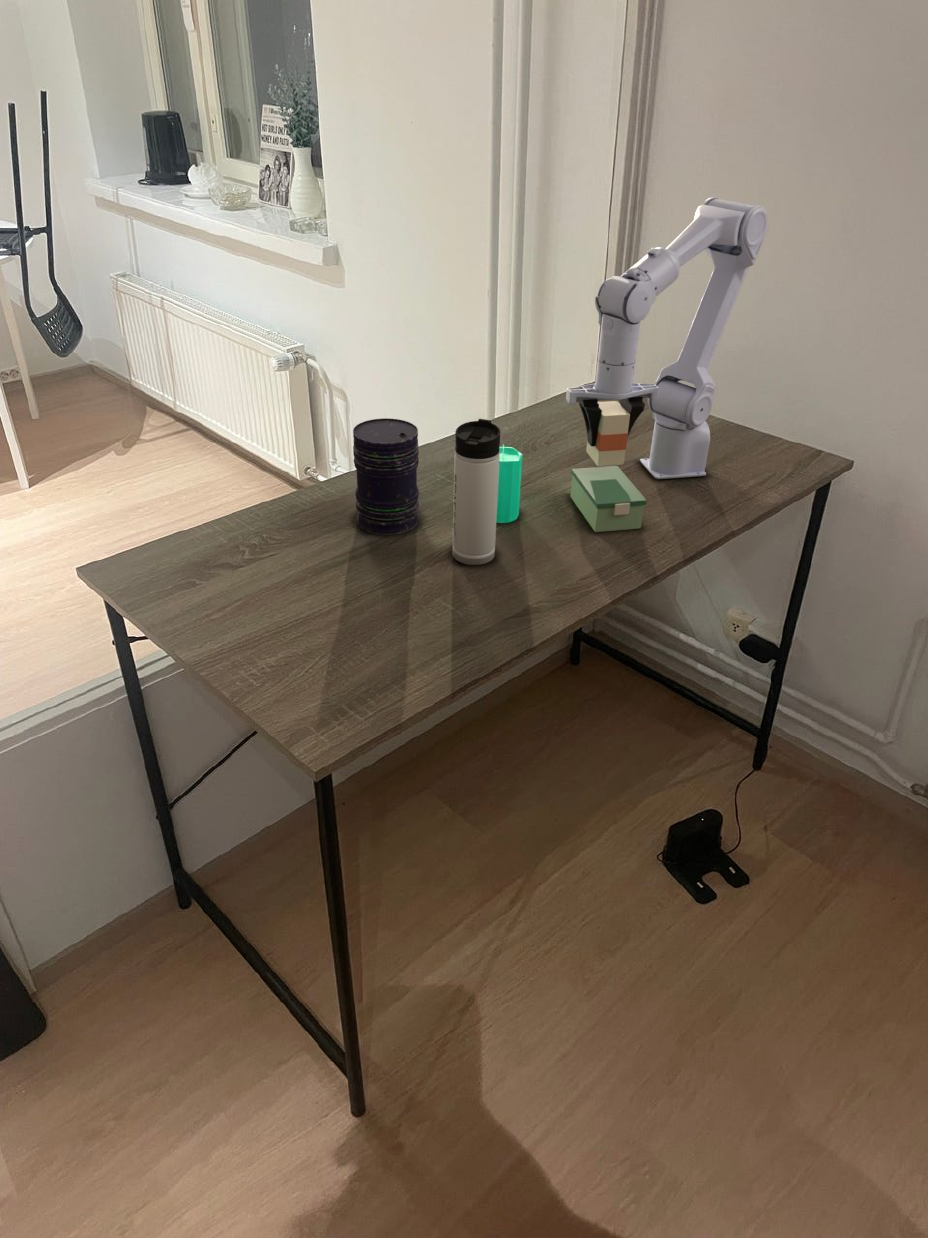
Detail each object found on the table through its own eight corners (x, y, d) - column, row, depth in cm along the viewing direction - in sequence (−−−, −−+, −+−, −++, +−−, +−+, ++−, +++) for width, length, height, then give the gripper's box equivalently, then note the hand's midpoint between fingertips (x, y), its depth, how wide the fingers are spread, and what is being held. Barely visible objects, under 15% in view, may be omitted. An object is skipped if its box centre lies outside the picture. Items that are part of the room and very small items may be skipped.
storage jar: (344, 526, 141) (339, 435, 133) (376, 501, 149) (373, 413, 140) (400, 540, 138) (399, 448, 129) (430, 514, 145) (430, 425, 137)
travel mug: (500, 548, 137) (507, 421, 125) (487, 569, 131) (493, 439, 120) (461, 540, 138) (464, 415, 127) (446, 561, 133) (448, 432, 122)
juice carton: (611, 449, 151) (617, 400, 146) (624, 464, 146) (630, 414, 141) (585, 451, 150) (590, 401, 146) (597, 466, 145) (603, 415, 141)
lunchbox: (613, 492, 154) (616, 464, 151) (643, 529, 143) (647, 501, 140) (568, 495, 152) (570, 468, 149) (594, 533, 141) (598, 504, 138)
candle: (492, 526, 142) (496, 454, 136) (474, 510, 147) (477, 440, 140) (525, 518, 145) (530, 448, 138) (506, 503, 149) (510, 434, 142)
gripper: (651, 349, 144) (640, 430, 151) (563, 353, 141) (556, 435, 149) (668, 364, 138) (655, 447, 146) (577, 368, 135) (569, 453, 143)
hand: (606, 443), depth 147 cm, fingers closed on juice carton, 4 cm apart
